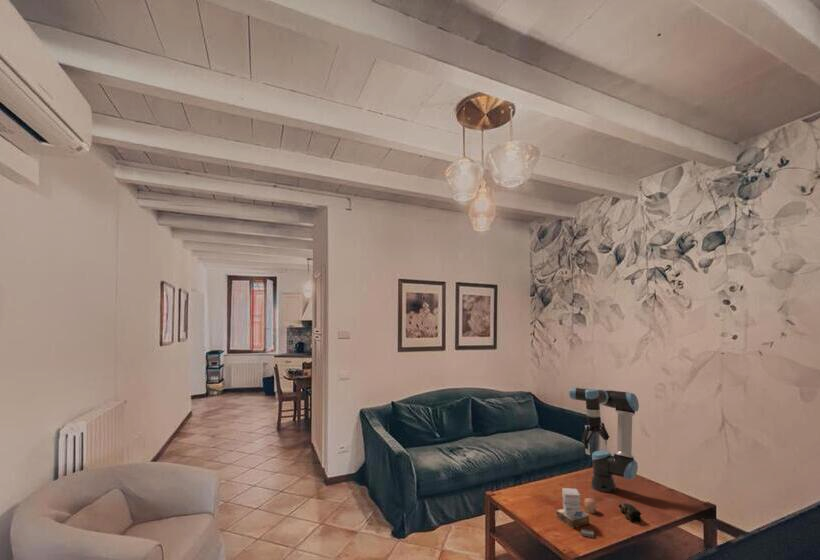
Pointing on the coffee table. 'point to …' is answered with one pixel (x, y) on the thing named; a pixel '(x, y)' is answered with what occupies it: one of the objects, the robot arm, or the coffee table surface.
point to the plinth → (573, 518)
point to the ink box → (571, 502)
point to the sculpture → (630, 511)
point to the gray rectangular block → (587, 533)
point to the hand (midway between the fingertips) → (596, 452)
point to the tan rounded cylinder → (590, 505)
